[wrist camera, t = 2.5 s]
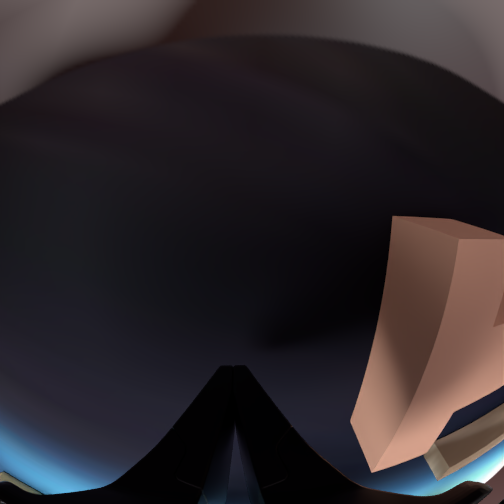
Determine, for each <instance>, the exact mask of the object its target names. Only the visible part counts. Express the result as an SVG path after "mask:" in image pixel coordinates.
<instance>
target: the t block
mask: <svg viewBox="0 0 504 504" xmlns="http://www.w3.org/2000/svg"><path fill="white" fill-rule="evenodd" d="M503 385H504V236H503V235H500V234H497V233H494V232H491V231H488V230H485V229H482V228H479V227H476V226H473V225H469V224H466V223H463V222H460V221H456V220H453V219H444V218H427V217H406V216H392V228H391V239H390V248H389V257H388V265H387V272H386V279H385V285H384V291H383V297H382V303H381V308H380V313H379V318H378V323H377V328H376V333H375V337H374V341H373V346H372V350H371V354H370V358H369V362H368V365H367V369H366V373H365V376H364V380H363V383H362V386H361V390H360V393H359V396H358V399H357V403H356V406H355V409H354V412H353V415H352V417H351V420H350V422H351V424H352V427H353V429H354V431H355V434H356V436H357V438H358V441H359V443H360V446H361V448H362V450H363V453H364V455H365V458H366V460H367V462H368V465H369V467H370V470H371V472H376V471H379V470H382V469H385V468H388V467H391V466H394V465H397V464H400V463H402V462H405V461H408V460H410V459H413V458H415V457H418V456H420V455H423V454H425V453H427V452H428V450H429V449H430V447H431V446H432V445H433V443H434V442H435V440H436V439H437V437H438V436H439V434H440V433H441V431H442V430H443V428H444V427H445V425H446V424H447V422H448V420H449V419H450V417H451V415H452V414H453V412H454V411H457V410H459V409H461V408H463V407H465V406H467V405H469V404H471V403H473V402H475V401H477V400H479V399H480V398H482V397H484V396H486V395H488V394H489V393H491V392H493V391H495V390H496V389H498V388H500V387H501V386H503Z"/></svg>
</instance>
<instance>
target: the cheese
mask: <svg viewBox="0 0 504 504" xmlns="http://www.w3.org/2000/svg"><path fill="white" fill-rule="evenodd" d="M1 481H9V482H11V483H13V484H15V485H16V486H18V487H20V488H21V489H23V490H25V491H27V492H30V493H34V494H41V493H40V492H38V491H36V490H35V489H33V488H31V487H29V486H28V485H26V484H24V483H22V482H21V481H19V480H17V479H16V478H14V477H12V476H11V475H9V474H7V473H5V472H1V473H0V482H1ZM41 495H42V494H41Z"/></svg>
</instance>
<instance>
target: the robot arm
mask: <svg viewBox="0 0 504 504" xmlns="http://www.w3.org/2000/svg"><path fill="white" fill-rule="evenodd" d="M235 426H236V433H237V438H238V444H239V449H240V454H241V459H242V464H243V469H244V474H245V479H246V484H247V489H248V493H249V498H250V502H251V504H478V503H479V502H480V501H481V500H483V498H485V497H486V496H487V495H488V494H489V493H490V492H491V491H492V490H493V489H492V488H491V487H490V486H488V485H486V484H484V483H480V482H473V481H465V482H463V483H461V484H459V485H457V486H455V487H454V488H452V489H450V490H448V491H446V492H444V493H442V494H438V495H434V496H413V495H405V494H398V493H392V492H386V491H380V490H375V489H370V488H366V487H363V486H361V485H359V484H357V483H355V482H353V481H351V480H350V479H349V478H347V477H346V476H345V475H343V474H342V473H341V472H340V471H338V470H337V469H336V468H335V467H333V466H332V465H331V464H330V463H329V462H327V461H326V460H325V459H324V458H323V457H321V456H320V455H319V454H318V453H317V452H316V451H315V450H314V449H313V448H312V447H310V446H309V445H308V444H307V442H306V441H305V440H304V439H303V438H302V437H301V436H300V435H299V433H298V432H297V431H296V430H295V429H294V427H292V425H291V424H290V423H289V421H288V420H287V419H286V418H285V416H284V415H283V414H282V413H281V411H280V410H279V409H278V407H277V406H276V405H275V404H274V402H273V401H272V400H271V398H270V397H269V396H268V394H267V393H266V392H265V391H264V389H263V388H262V387H261V385H260V384H259V383H258V381H257V380H256V378H255V377H254V376H253V374H252V373H251V372H250V370H249V369H248V368H247V366H245V365H235V366H234V367H233V366H231V365H227V366H220V367H219V368H218V369H217V371H216V372H215V373H214V375H213V376H212V377H211V379H210V380H209V381H208V383H207V384H206V385H205V386H204V388H203V389H202V390H201V392H200V393H199V394H198V395H197V397H196V398H195V399H194V400H193V402H192V403H191V404H190V406H189V407H188V408H187V409H186V411H185V412H184V413H183V414H182V416H181V417H180V418H179V419H178V421H177V422H176V423H175V424H174V426H173V428H171V429H170V430H169V431H168V433H167V434H166V435H165V436H164V437H163V439H162V440H161V441H160V442H159V443H158V444H157V445H156V446H155V447H154V448H153V449H152V450H151V451H150V452H149V453H148V454H147V455H146V456H145V457H143V458H142V459H141V460H140V461H139V462H138V463H137V464H135V465H134V466H133V467H132V468H131V469H130V470H128V471H127V472H126V473H125V474H124V475H122V476H121V477H120V478H119V479H117V480H116V481H114V482H113V483H111V484H109V485H107V486H104V487H101V488H97V489H91V490H85V491H78V492H71V493H62V494H51V495H41V494H34V493H30V492H27V491H25V490H23V489H21V488H20V487H18V486H16V485H15V484H13V483H11V482H9V481H1V482H0V504H226V496H227V488H228V480H229V472H230V464H231V456H232V448H233V440H234V432H235ZM499 504H504V499H503V500H502V501H501V502H500V503H499Z"/></svg>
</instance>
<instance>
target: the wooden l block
mask: <svg viewBox="0 0 504 504" xmlns="http://www.w3.org/2000/svg"><path fill="white" fill-rule="evenodd" d="M503 439H504V403H503V404H502V405H500V406H499V407H497V408H496V409H494V410H492V411H491V412H489V413H488V414H486V415H484V416H483V417H481V418H479V419H478V420H476V421H474V422H472V423H470V424H469V425H467V426H465V427H463V428H461V429H459V430H457V431H455V432H453V433H451V434H449V435H447V436H445V437H443V438H441V439H439V440H436V441H435V442H434V443H433V445H432V446H431V447H430V449H429V450H428V452H427V453H425V454H424V458H425V459H426V461H427V463H428V465H429V466H430V468H431V470H432V472H433V474H434V475H435V477H436V479H437V481H438V480H440V479H442V478H444V477H446V476H448V475H450V474H451V473H453V472H455V471H457V470H458V469H460V468H462V467H464V466H465V465H467V464H469V463H470V462H472V461H473V460H475V459H476V458H478V457H479V456H481V455H482V454H484V453H485V452H487V451H488V450H490V449H491V448H493V447H494V446H495V445H497V444H498V443H499V442H501V441H502V440H503Z"/></svg>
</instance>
